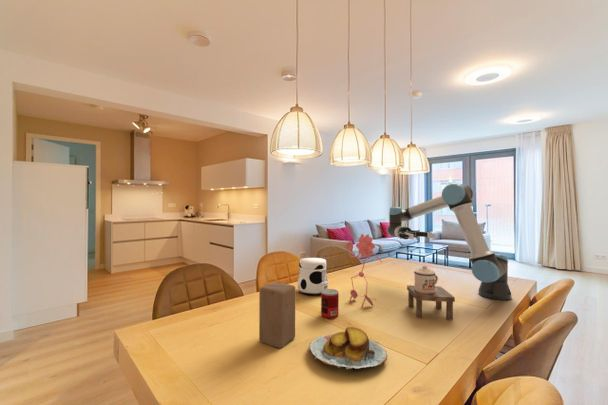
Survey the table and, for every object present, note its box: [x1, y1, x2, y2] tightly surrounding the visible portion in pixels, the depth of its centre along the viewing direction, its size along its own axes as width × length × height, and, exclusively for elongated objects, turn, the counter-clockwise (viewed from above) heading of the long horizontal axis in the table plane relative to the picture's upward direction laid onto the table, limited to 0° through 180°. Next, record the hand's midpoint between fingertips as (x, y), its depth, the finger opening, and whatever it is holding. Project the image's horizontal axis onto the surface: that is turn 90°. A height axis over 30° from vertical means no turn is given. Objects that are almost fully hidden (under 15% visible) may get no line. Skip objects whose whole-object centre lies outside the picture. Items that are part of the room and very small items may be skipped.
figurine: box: [346, 233, 383, 308], centre depth 146 cm, size 15×26×35 cm, turn 31°
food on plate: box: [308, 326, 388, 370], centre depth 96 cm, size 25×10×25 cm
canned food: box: [320, 288, 340, 320], centre depth 128 cm, size 8×8×11 cm
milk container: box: [297, 257, 329, 296], centre depth 162 cm, size 17×17×18 cm
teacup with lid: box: [413, 265, 439, 294], centre depth 133 cm, size 12×9×12 cm
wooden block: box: [258, 281, 296, 349], centre depth 105 cm, size 10×10×20 cm
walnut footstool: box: [406, 285, 456, 321], centre depth 133 cm, size 16×16×10 cm
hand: (424, 236), depth 155 cm, fingers open, 13 cm apart
